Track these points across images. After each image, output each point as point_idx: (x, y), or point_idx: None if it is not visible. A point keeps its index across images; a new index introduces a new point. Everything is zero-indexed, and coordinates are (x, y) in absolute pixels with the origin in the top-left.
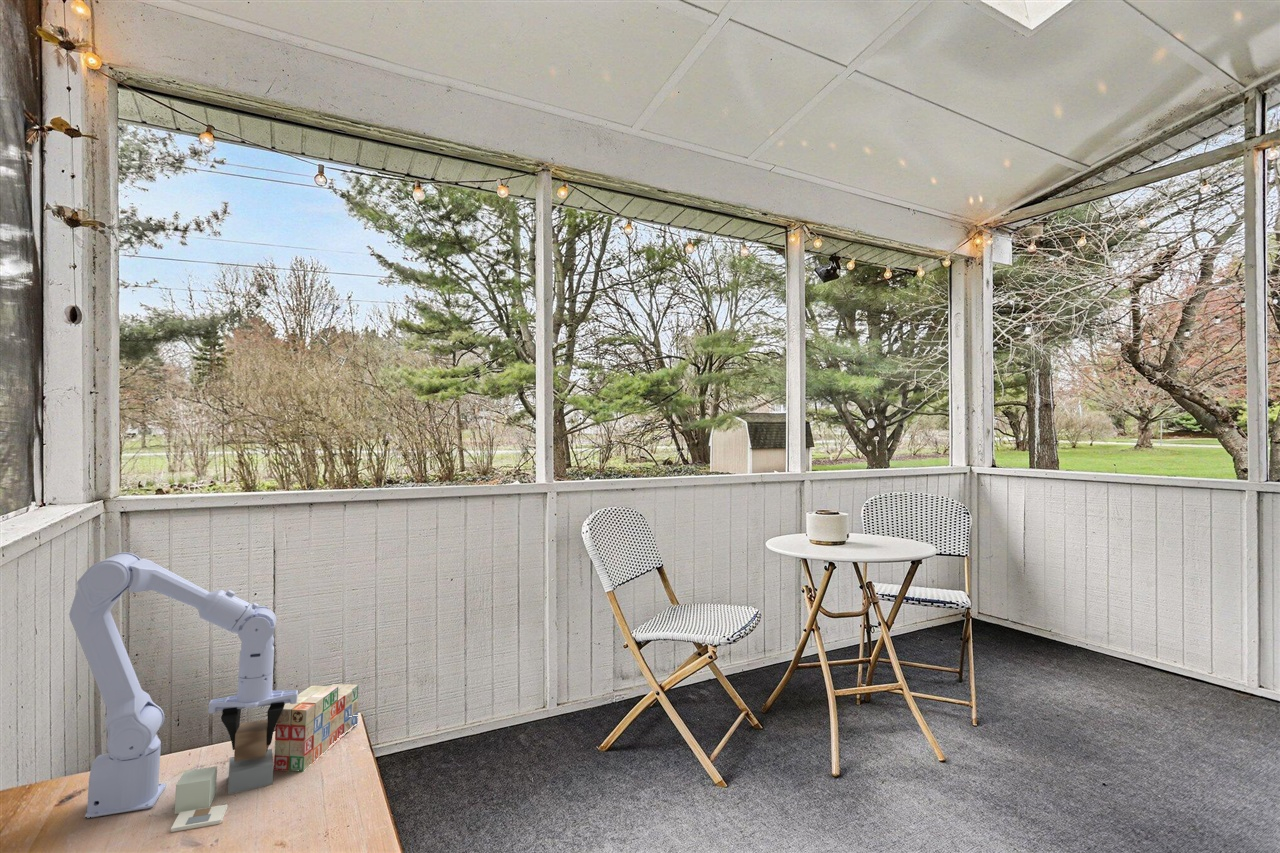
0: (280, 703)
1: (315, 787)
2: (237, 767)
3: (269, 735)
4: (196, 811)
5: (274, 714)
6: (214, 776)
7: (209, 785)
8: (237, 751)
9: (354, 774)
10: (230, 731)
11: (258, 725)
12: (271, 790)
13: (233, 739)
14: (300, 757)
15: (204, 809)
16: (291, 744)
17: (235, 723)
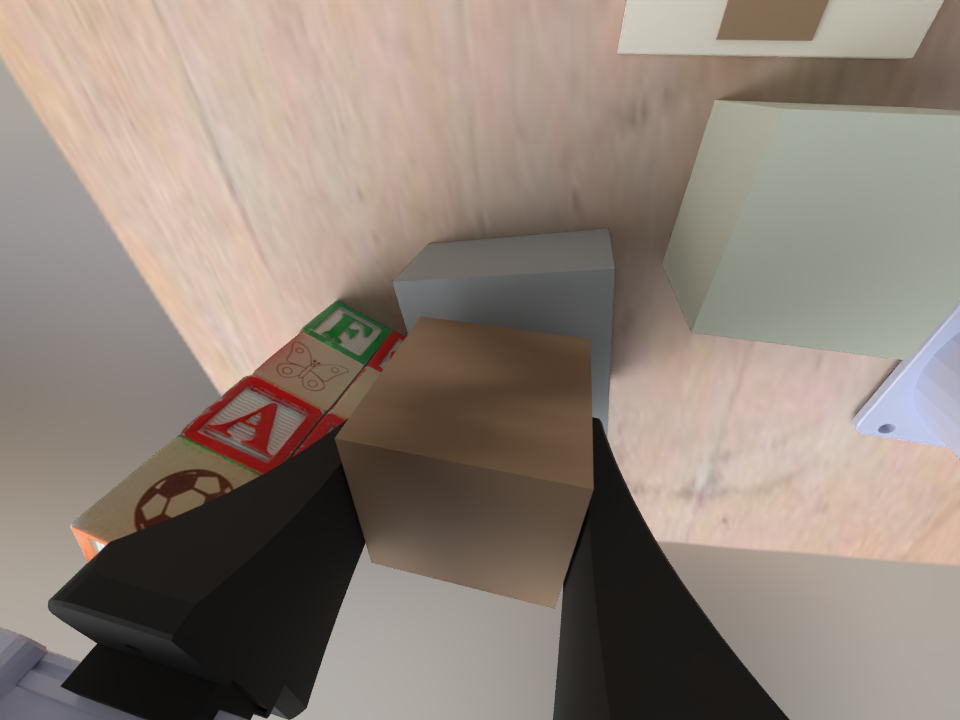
0: (96, 693)
1: (232, 120)
2: (570, 324)
3: None
4: (818, 2)
5: (161, 559)
6: (708, 252)
7: (767, 109)
8: (571, 373)
9: (126, 183)
10: (638, 540)
11: (424, 530)
12: (420, 180)
13: (603, 469)
14: (320, 337)
15: (761, 20)
16: (330, 393)
17: (599, 612)
